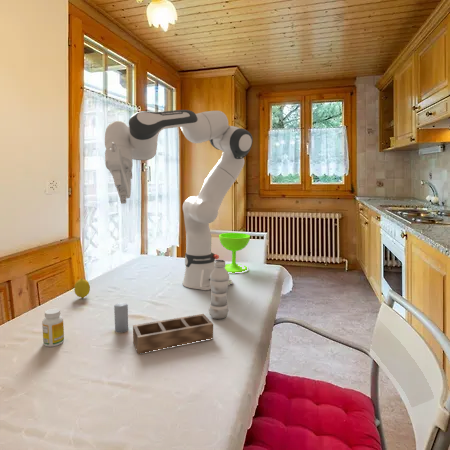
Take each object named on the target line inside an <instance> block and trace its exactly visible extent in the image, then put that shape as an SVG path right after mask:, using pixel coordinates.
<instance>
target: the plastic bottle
mask: <svg viewBox="0 0 450 450" xmlns="http://www.w3.org/2000/svg"><path fill="white" fill-rule="evenodd" d="M225 264H226V260H224V259H215V261H214V267H215V268H214V270H213V271H212V272H211V275H210V282H211V289H210V291H211V293H210V296H211V297H210V303H209V307H208V313H209V314H208V315H209V316H210V317H211V318H212V319H214V320H221V319H225V318H226V317H227V316H228V314H229V305H228V289H229V288H228V287H229V285H228V282H229V278H230V274H228V272H227V270H226V269H225V267H226V265H225Z"/></svg>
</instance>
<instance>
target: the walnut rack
mask: <svg viewBox="0 0 450 450" xmlns="http://www.w3.org/2000/svg"><path fill="white" fill-rule="evenodd" d="M211 338H213V339H214V323H213V322H212V321H211V320H210V319H209V318H208V317H207V316H206V315H205V314H204V313H199V314H193V315H187V316H181V317H176V318H169V319H163V320H157V321H151V322H146V323H138V324H132V341H133V345H134V344H135V345H134V347H135V350H136V349H137V350H136V352H137V355H138V354H140V353H145V352H149V351H153V350H158V349H163V348H167V347H172V346H177V345H182V344H187V343H192V342H196V341H201V340H206V339H211ZM145 354H146V353H145ZM140 355H141V354H140Z"/></svg>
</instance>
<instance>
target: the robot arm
mask: <svg viewBox="0 0 450 450" xmlns="http://www.w3.org/2000/svg"><path fill="white" fill-rule="evenodd" d="M175 128H180V129H181V132H182V135H184V138H185V139H186V140H187V141H189V142H190V143H192V144H201V143H205V142H208V141H209V143H210V145H211V146H212V147H213V148H214V149H216V150H218V151H219V150H220V151H221V152H222V153H221V157H220V159H218V161H217V162H216V164H215V165H214V166H213V168H212V169H211V170H210V172H209V173H208V175H207V177H206V178H205V179H204V181H203V185H202V187H201V189H200V191H199V193H198V195H192V196H189V197H188V198H186V199H185V200H184V201H183V204H182V212H183V219H184V220H183V221H184V227H185V236H186V237H185V238H186V240H185V244H186V246H185V247H186V250H185V251H186V252H185V254H184V265H185V270H184V271H185V272H184V277H183V281H182V286H184V287H185V288H190V289H194V290H195V289H197V290H201V291H209V290H210V291H211V282H210V275H211V272H212V271H213V270H214V268H215V267H214V261H215V260H219V259H220V256H219V255H218V254H217V253H216V254H215V253H213V252H212V233H211V230H210V224H211V223H213V222H215V220H216V219H217V218H218V214H219V209H220V207H221V206H222V205H221V204H222V203H223V201H224V198H225V196H226V195H227V194H228V192H229V190H230V189H231V187H232V186H233V184H234V183H235V182H236V181H237V178H238V177H239V175H240V173H241V172H242V170H243V168H244V165H245V163H246V162H245V159H244V158H246V157H247V155H248V154H249V152H251V151H250V150H251V149H252V146H253V143H254V142H253V135H252V133H251V132H250V131H248V129H247V130H246V129H245V128H242V127H241V128H240V127H237V126H234V125H229V119H228V117H227V114H226V113H225V112H223V111H221V110H210V111H208V110H207V111H202V112H198V113H195V112H194V111H193V110H189V109H176V110H166V111H164V110H163V111H147V110H146V111H144V110H143V111H139V112H138V111H137V112H136V113H134V114H132V115H131V116H130V118H129V120H128V125H127V123H125V121H122V120H121V121H120V120H115V121H113V122H110V124H108V125H107V127H106V130H105V132H104V147H105V152H104V155H105V157H104V161H105V163H104V164H105V168H106V169H107V170H108V171H109V173H110V174H111V176H112V179H113V181H114V186H115V188H116V190H117V193H118V197H119V202H120V204H124V205H125V204H126V203H127V199H129V198H131V196H132V195H131V193H132V192H131V190H132V180H133V160H136V161H149V160H151V159H154V157H155V156H156V154H157V150H158V140H159V134H160V133H161V132H162V131H163V130H166V129H175ZM232 283H233V279H232V278H230V277H229V282H228V286H231V285H230V284H232ZM233 284H234V283H233ZM233 284H232V285H233Z"/></svg>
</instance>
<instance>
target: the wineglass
mask: <svg viewBox="0 0 450 450" xmlns="http://www.w3.org/2000/svg"><path fill="white" fill-rule="evenodd" d="M218 238H219V242H220V244H221V246H223V248H225V249H226V250H228V251H231V254H232V255H231V263H227V264H226V263H225V265H226V267H225V269H226V270H227V272H232V273H235V272H242V271H245V270H247V265H244V267H245V269H242V267H240V266H238V264H239V263H238V264H237V263H236V261H237V259H236V257H237V252H238V251H241V250H243V249H245V248H246V246H248V244H249V242H250V239H251V235H250V234H247V233H243V232H223V233H220V234H218Z"/></svg>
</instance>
